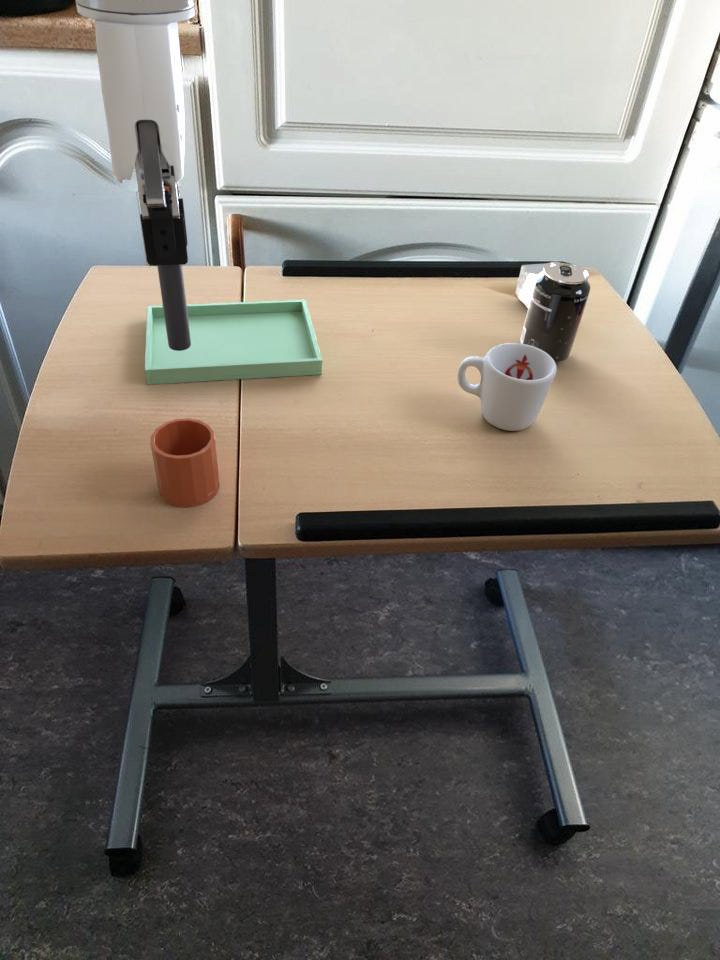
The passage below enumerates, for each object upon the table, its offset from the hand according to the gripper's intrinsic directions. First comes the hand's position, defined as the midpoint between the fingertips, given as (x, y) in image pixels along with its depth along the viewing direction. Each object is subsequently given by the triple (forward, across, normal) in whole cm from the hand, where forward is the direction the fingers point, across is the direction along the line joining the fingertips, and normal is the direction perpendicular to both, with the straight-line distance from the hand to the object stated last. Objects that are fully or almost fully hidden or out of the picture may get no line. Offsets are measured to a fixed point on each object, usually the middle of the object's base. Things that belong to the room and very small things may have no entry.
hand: (168, 253), depth 58 cm
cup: (+24, -6, +35) cm, 43 cm away
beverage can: (+24, -18, +46) cm, 55 cm away
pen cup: (+24, +3, -1) cm, 24 cm away
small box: (+24, -32, +51) cm, 65 cm away
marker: (+9, 0, 0) cm, 9 cm away
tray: (+24, -23, +5) cm, 34 cm away
